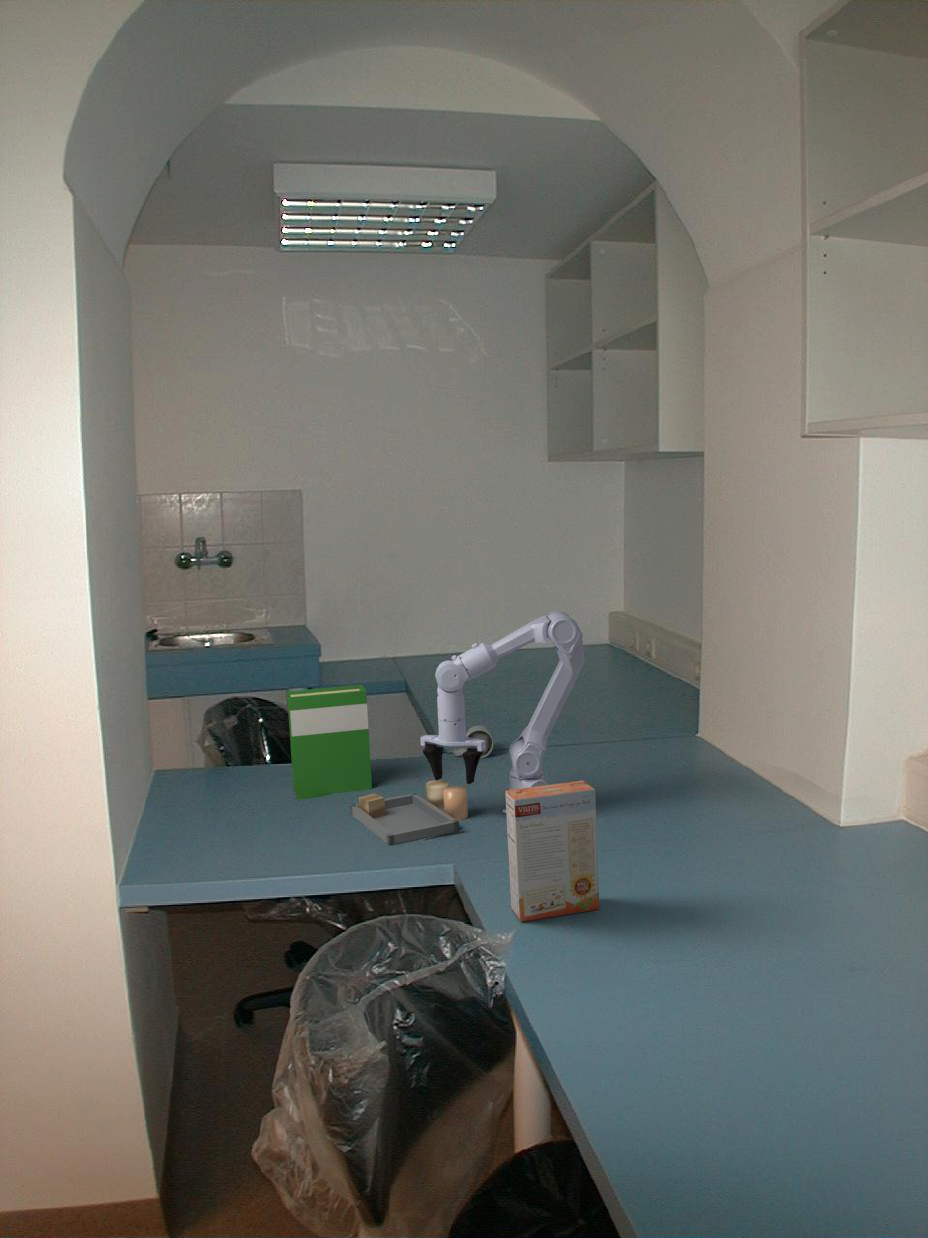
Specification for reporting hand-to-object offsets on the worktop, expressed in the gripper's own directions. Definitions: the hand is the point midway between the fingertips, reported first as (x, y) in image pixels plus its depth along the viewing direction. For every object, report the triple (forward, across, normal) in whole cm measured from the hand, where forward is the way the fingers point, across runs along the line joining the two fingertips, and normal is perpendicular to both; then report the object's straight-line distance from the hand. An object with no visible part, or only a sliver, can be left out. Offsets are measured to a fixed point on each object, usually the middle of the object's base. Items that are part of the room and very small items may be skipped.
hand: (454, 781), depth 215 cm
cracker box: (+8, -36, +35) cm, 51 cm away
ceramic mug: (+9, +18, -46) cm, 50 cm away
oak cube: (+8, +17, +6) cm, 20 cm away
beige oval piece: (+8, +7, -5) cm, 12 cm away
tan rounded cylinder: (+8, 0, 0) cm, 8 cm away
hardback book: (+9, +37, -8) cm, 38 cm away
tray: (+8, +9, +7) cm, 14 cm away
